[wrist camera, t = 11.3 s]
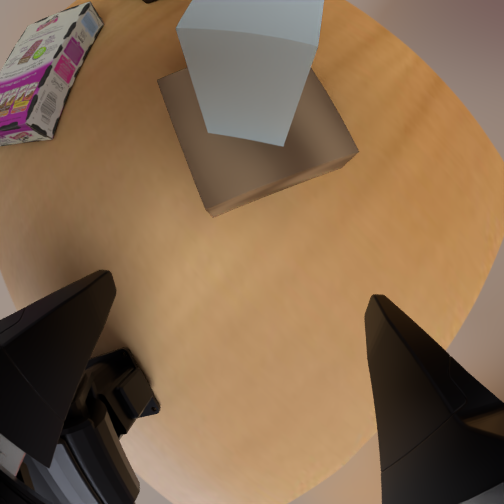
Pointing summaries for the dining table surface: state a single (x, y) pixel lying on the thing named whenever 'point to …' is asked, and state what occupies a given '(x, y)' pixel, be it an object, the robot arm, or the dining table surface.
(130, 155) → the dining table surface
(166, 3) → the dining table surface
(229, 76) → the grey-blue block
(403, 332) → the robot arm
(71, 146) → the dining table surface
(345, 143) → the walnut block
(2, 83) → the candy bar box
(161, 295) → the dining table surface
